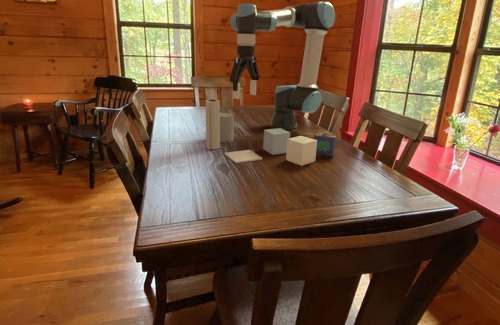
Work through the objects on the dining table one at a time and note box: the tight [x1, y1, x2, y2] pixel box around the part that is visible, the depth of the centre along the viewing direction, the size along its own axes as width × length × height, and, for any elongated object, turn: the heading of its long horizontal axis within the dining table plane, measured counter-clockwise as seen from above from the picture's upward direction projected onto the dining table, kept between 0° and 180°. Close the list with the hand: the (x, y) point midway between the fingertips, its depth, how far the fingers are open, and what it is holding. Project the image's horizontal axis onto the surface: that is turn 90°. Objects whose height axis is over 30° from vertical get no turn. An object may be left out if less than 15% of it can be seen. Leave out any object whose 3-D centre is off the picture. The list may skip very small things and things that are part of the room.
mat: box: [224, 149, 263, 164], centre depth 138 cm, size 12×12×1 cm
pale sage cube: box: [262, 128, 291, 156], centre depth 145 cm, size 8×8×9 cm
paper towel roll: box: [205, 99, 221, 151], centre depth 144 cm, size 7×6×21 cm
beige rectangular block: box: [285, 135, 317, 167], centre depth 134 cm, size 8×8×9 cm
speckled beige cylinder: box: [220, 112, 235, 143], centre depth 159 cm, size 10×10×12 cm
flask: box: [313, 131, 337, 158], centre depth 140 cm, size 9×3×11 cm, turn 74°
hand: (244, 96), depth 144 cm, fingers open, 13 cm apart
